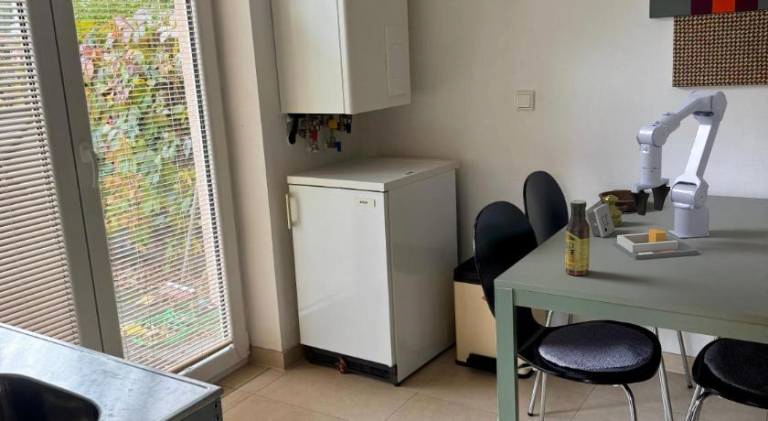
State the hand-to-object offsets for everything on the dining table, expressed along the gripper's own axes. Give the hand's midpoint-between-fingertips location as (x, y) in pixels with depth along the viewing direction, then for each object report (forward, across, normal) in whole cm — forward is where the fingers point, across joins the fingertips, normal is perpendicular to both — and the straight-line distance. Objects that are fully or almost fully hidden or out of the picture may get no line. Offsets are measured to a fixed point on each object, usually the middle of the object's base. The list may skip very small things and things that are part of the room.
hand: (649, 212), depth 210 cm
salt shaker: (+10, -10, -23) cm, 27 cm away
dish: (+11, -32, -36) cm, 50 cm away
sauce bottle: (+10, +35, +4) cm, 36 cm away
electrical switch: (+10, 0, -18) cm, 20 cm away
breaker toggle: (+9, +2, +4) cm, 10 cm away
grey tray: (+10, +3, +4) cm, 11 cm away
